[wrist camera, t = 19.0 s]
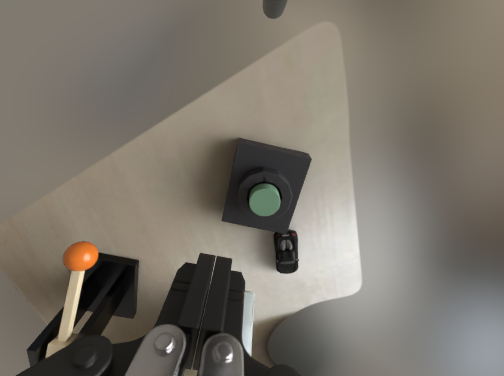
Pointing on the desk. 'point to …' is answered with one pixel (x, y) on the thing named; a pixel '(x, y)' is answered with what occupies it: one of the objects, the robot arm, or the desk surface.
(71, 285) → the switch lever
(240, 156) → the switch block
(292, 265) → the toy car
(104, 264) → the switch bracket
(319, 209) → the desk surface
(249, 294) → the skincare box
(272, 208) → the power button
